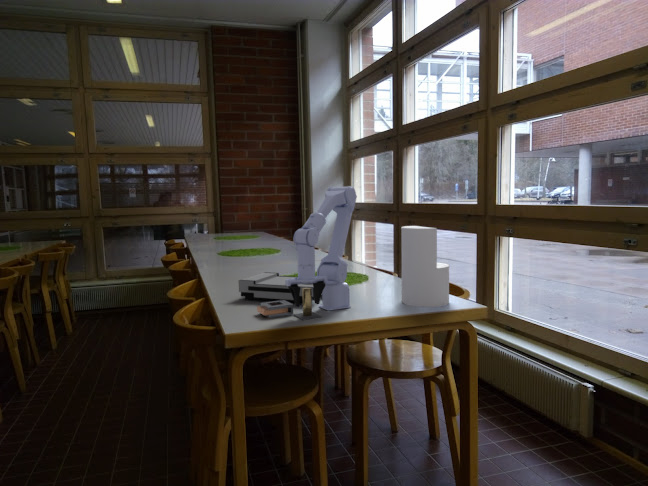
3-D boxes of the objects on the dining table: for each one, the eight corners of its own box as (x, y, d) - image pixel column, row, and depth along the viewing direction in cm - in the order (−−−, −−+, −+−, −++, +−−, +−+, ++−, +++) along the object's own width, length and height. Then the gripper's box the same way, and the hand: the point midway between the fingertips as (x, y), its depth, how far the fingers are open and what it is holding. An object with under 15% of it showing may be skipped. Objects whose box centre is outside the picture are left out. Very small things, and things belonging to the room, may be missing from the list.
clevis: (284, 309, 163) (284, 299, 163) (293, 314, 156) (293, 304, 156) (256, 313, 159) (256, 303, 158) (264, 318, 152) (264, 308, 151)
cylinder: (414, 308, 161) (414, 229, 159) (394, 298, 178) (393, 226, 175) (458, 304, 166) (458, 227, 163) (434, 295, 183) (434, 224, 180)
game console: (313, 306, 169) (313, 284, 168) (239, 301, 181) (238, 280, 180) (333, 295, 188) (333, 275, 187) (265, 290, 200) (264, 272, 199)
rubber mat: (312, 312, 158) (312, 311, 158) (321, 317, 152) (321, 315, 152) (293, 315, 155) (293, 314, 155) (302, 320, 149) (302, 318, 149)
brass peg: (309, 313, 156) (308, 287, 155) (313, 315, 153) (312, 288, 152) (301, 314, 154) (300, 288, 154) (305, 316, 152) (304, 289, 151)
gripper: (290, 268, 145) (292, 310, 147) (331, 264, 152) (332, 304, 153) (282, 265, 152) (283, 305, 153) (321, 261, 158) (322, 300, 159)
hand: (307, 305), depth 153 cm, fingers open, 7 cm apart
